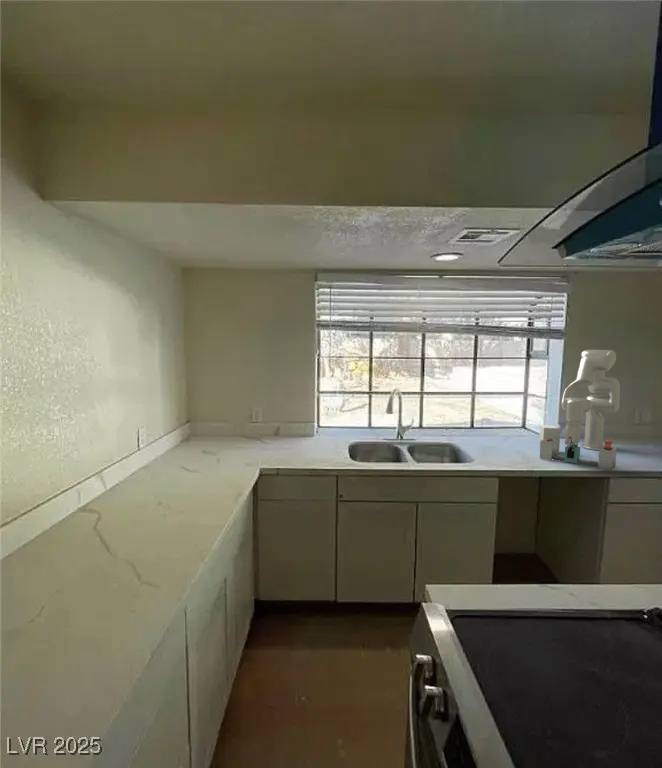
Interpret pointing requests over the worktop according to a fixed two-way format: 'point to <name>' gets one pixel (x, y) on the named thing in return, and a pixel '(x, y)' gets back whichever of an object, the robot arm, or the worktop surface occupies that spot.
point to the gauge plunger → (608, 444)
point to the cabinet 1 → (548, 448)
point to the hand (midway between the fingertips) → (572, 456)
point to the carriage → (576, 455)
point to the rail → (578, 461)
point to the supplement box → (550, 434)
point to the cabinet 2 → (607, 458)
